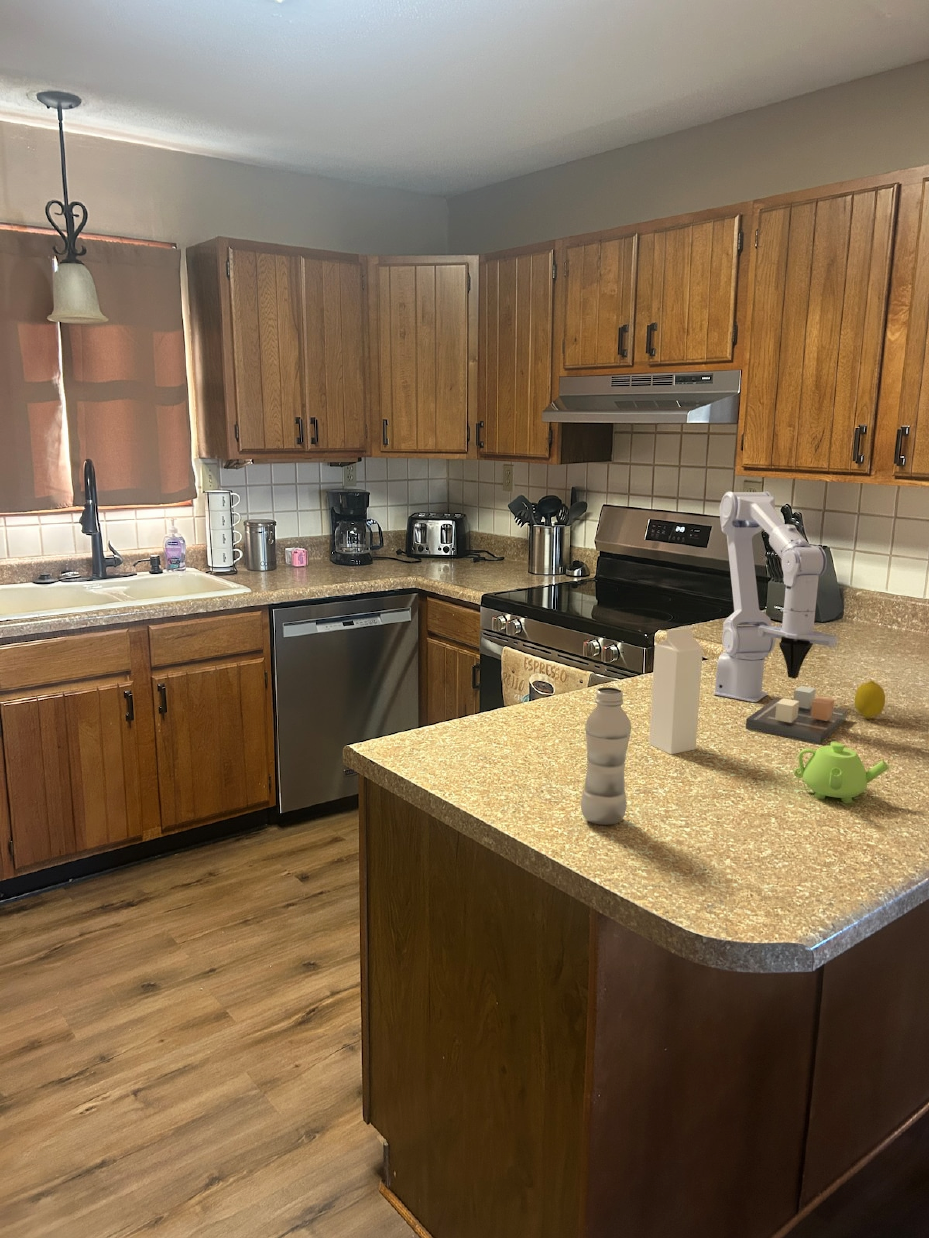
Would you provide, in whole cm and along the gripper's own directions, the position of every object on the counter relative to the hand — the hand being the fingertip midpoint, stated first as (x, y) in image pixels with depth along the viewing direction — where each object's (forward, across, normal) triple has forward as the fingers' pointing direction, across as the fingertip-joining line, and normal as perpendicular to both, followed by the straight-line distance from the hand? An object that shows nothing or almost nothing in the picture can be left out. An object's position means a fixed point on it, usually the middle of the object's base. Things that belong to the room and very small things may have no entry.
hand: (793, 677), depth 177 cm
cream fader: (+7, +1, -5) cm, 9 cm away
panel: (+9, +2, 0) cm, 10 cm away
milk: (+10, -12, -28) cm, 32 cm away
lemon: (+10, +12, +12) cm, 20 cm away
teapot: (+10, +18, -32) cm, 37 cm away
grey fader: (+7, +1, +6) cm, 9 cm away
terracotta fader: (+7, +6, 0) cm, 9 cm away
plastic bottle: (+10, -8, -64) cm, 65 cm away
